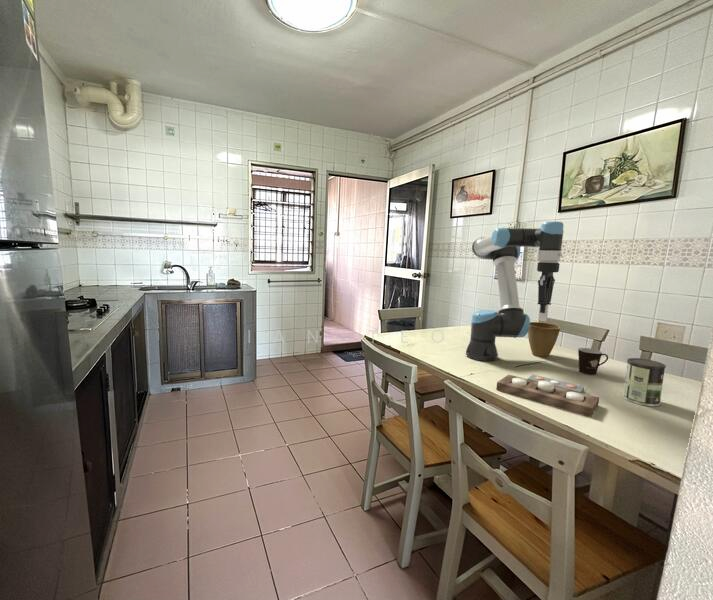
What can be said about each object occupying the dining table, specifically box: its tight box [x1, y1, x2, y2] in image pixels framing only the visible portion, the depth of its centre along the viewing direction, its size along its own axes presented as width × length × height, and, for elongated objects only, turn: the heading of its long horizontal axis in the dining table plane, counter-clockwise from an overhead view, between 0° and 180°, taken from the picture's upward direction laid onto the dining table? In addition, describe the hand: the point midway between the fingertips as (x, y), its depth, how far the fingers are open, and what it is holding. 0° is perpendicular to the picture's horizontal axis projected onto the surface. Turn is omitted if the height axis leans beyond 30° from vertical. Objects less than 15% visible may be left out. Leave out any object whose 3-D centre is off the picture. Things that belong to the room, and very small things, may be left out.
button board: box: [496, 374, 600, 418], centre depth 120 cm, size 30×12×3 cm, turn 46°
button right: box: [566, 392, 584, 402], centre depth 114 cm, size 5×5×2 cm
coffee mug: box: [577, 347, 609, 376], centre depth 146 cm, size 12×9×10 cm
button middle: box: [538, 381, 554, 393], centre depth 120 cm, size 5×5×2 cm
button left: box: [512, 377, 527, 387], centre depth 126 cm, size 5×5×2 cm
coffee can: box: [622, 357, 666, 407], centre depth 119 cm, size 10×10×14 cm
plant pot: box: [527, 321, 561, 358], centre depth 172 cm, size 15×15×16 cm
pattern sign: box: [527, 374, 585, 394], centre depth 130 cm, size 18×7×2 cm, turn 46°
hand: (542, 320), depth 135 cm, fingers closed
